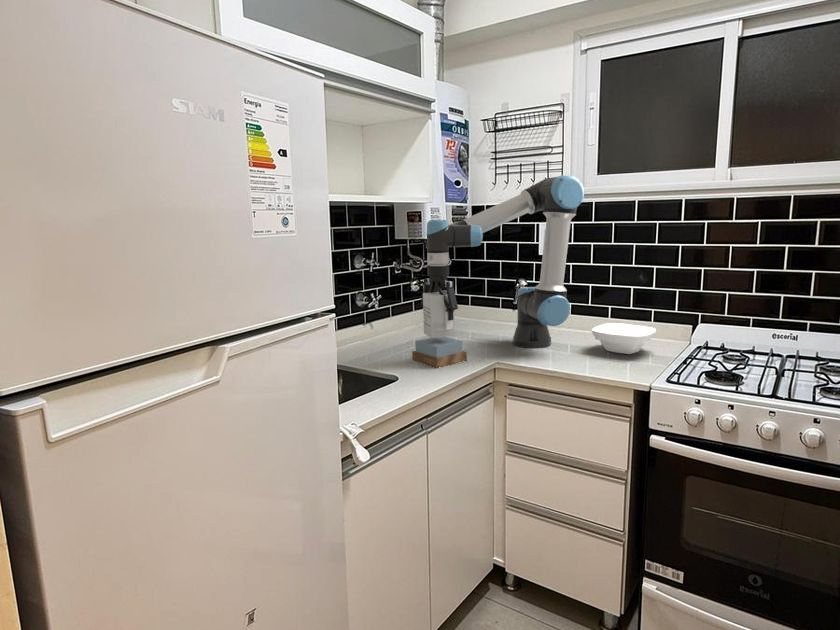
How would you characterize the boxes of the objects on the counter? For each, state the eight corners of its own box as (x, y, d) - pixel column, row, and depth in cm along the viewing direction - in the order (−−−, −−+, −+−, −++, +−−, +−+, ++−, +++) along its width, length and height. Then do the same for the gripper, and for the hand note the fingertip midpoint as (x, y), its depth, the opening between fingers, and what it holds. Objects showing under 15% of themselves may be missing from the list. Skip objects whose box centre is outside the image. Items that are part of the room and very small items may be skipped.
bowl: (607, 342, 214) (608, 321, 212) (661, 350, 200) (662, 328, 198) (584, 352, 199) (584, 330, 197) (639, 362, 185) (641, 338, 183)
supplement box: (446, 331, 196) (445, 290, 194) (455, 336, 188) (455, 294, 185) (423, 333, 194) (422, 292, 191) (431, 338, 185) (430, 295, 182)
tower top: (440, 346, 200) (440, 335, 200) (462, 351, 191) (462, 341, 190) (415, 351, 193) (415, 340, 192) (436, 357, 184) (436, 346, 183)
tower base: (441, 355, 203) (441, 345, 202) (466, 362, 192) (466, 351, 191) (412, 362, 194) (412, 351, 194) (436, 370, 183) (436, 358, 183)
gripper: (410, 263, 193) (411, 323, 197) (451, 267, 175) (452, 333, 179) (426, 262, 197) (427, 321, 201) (468, 265, 179) (468, 330, 184)
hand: (439, 326), depth 190 cm, fingers closed on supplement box, 10 cm apart
